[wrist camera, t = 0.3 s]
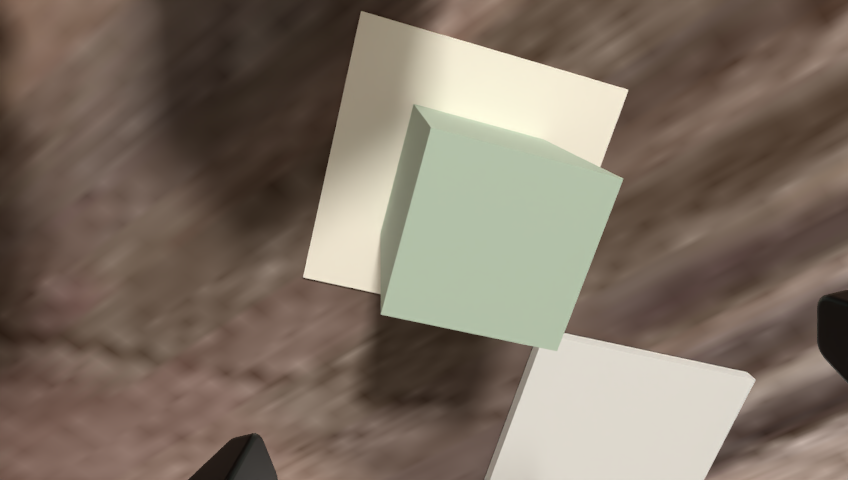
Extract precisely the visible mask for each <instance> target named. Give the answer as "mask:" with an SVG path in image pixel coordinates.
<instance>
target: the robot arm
mask: <svg viewBox="0 0 848 480" xmlns="http://www.w3.org/2000/svg"><path fill="white" fill-rule="evenodd" d="M817 343H818V347H819V350H820V352H821V354H822V355H823V357H824V358H825V359H826V360H827V362H828V363H829V364H830V365H831V366H832V367H833V368H834V369H835V370H836V371H837V372H838V373H839V375H840V376H841V377H842V378H843V379H844V380H845V381H846V382H847V383H848V290H844V291H840V292H836V293H832V294H828V295H824V296H823V297H821V298H820V300H819V302H818V306H817ZM188 480H278V479H277V474H276V471H275V469H274V466H273V464H272V461H271V459H270V456H269V454H268V451H267V449H266V446H265V444H264V442H263V439H262V438H261V437H260V435H258V434H256V433H252V434H248V435H244V436H240V437H236V438H233V439H231V440H230V441H229V442H228V443H226V444H225V445H224V446H223V447H222V448H221V449H220V450H219V451H218V452H217V453H216V454H215V455H214V456H213V457H212V458H211V459H210V460H208V461H207V462H206V463H205V464H204V465H203V466H202V467H201V468H200V469H199V470H198V471H197V472H196V473H195V474H194V475H193V476H192V477H190V478H189V479H188Z"/></svg>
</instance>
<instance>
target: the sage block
mask: <svg viewBox="0 0 848 480" xmlns="http://www.w3.org/2000/svg"><path fill="white" fill-rule="evenodd" d="M622 181H623V178H621V177H619V176H617V175H615V174H613V173H611V172H609V171H607V170H605V169H603V168H601V167H599V166H597V165H595V164H592V163H590V162H588V161H586V160H584V159H582V158H580V157H578V156H576V155H574V154H572V153H570V152H568V151H566V150H564V149H562V148H560V147H558V146H556V145H554V144H552V143H550V142H548V141H546V140H544V139H541V138H537V137H533V136H530V135H526V134H522V133H519V132H515V131H511V130H508V129H504V128H500V127H497V126H493V125H489V124H486V123H482V122H478V121H475V120H471V119H467V118H464V117H460V116H456V115H453V114H449V113H445V112H442V111H438V110H434V109H431V108H427V107H423V106H420V105H416V104H413V108H412V112H411V116H410V120H409V124H408V128H407V132H406V136H405V140H404V143H403V147H402V151H401V155H400V159H399V163H398V167H397V171H396V175H395V178H394V182H393V186H392V190H391V194H390V198H389V202H388V206H387V210H386V214H385V217H384V221H383V225H382V229H381V233H380V235H381V315H385V316H390V317H395V318H399V319H404V320H409V321H414V322H419V323H424V324H428V325H433V326H438V327H443V328H448V329H452V330H457V331H462V332H467V333H472V334H476V335H481V336H486V337H491V338H496V339H500V340H505V341H510V342H515V343H520V344H524V345H529V346H534V347H539V348H544V349H548V350H553V351H557V350H558V347H559V345H560V342H561V340H562V337H563V334H564V332H565V329H566V327H567V324H568V321H569V319H570V316H571V314H572V311H573V308H574V306H575V303H576V301H577V298H578V295H579V293H580V290H581V288H582V285H583V282H584V280H585V277H586V275H587V272H588V269H589V267H590V264H591V262H592V259H593V256H594V254H595V251H596V249H597V246H598V243H599V241H600V238H601V236H602V233H603V230H604V228H605V225H606V223H607V220H608V217H609V215H610V212H611V210H612V207H613V204H614V202H615V199H616V197H617V194H618V191H619V189H620V186H621V184H622Z"/></svg>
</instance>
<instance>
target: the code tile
mask: <svg viewBox="0 0 848 480" xmlns="http://www.w3.org/2000/svg"><path fill="white" fill-rule="evenodd" d="M627 93H628V90H627V89H624V88H621V87H617V86H614V85H610V84H607V83H604V82H600V81H597V80H594V79H590V78H587V77H583V76H580V75H577V74H573V73H570V72H566V71H563V70H560V69H556V68H553V67H550V66H546V65H543V64H539V63H536V62H533V61H529V60H526V59H522V58H519V57H516V56H512V55H509V54H505V53H502V52H499V51H495V50H492V49H489V48H485V47H482V46H478V45H475V44H472V43H468V42H465V41H461V40H458V39H455V38H451V37H448V36H445V35H441V34H438V33H434V32H431V31H428V30H424V29H421V28H417V27H414V26H411V25H407V24H404V23H400V22H397V21H394V20H390V19H387V18H384V17H380V16H377V15H373V14H370V13H367V12H363V11H361V14H360V18H359V23H358V27H357V32H356V37H355V41H354V46H353V50H352V55H351V59H350V64H349V69H348V73H347V78H346V82H345V87H344V92H343V96H342V101H341V105H340V110H339V115H338V119H337V124H336V128H335V133H334V138H333V142H332V147H331V151H330V156H329V161H328V165H327V170H326V174H325V179H324V184H323V188H322V193H321V197H320V202H319V207H318V211H317V216H316V220H315V225H314V230H313V234H312V239H311V243H310V248H309V253H308V257H307V262H306V266H305V271H304V276H303V278H308V279H312V280H317V281H322V282H326V283H331V284H336V285H340V286H345V287H350V288H354V289H359V290H364V291H368V292H373V293H378V294H381V235H380V233H381V229H382V225H383V221H384V217H385V214H386V210H387V206H388V202H389V198H390V194H391V190H392V186H393V182H394V178H395V175H396V171H397V167H398V163H399V159H400V155H401V151H402V147H403V143H404V140H405V136H406V132H407V128H408V124H409V120H410V116H411V112H412V108H413V104H416V105H420V106H423V107H427V108H431V109H434V110H438V111H442V112H445V113H449V114H453V115H456V116H460V117H464V118H467V119H471V120H475V121H478V122H482V123H486V124H489V125H493V126H497V127H500V128H504V129H508V130H511V131H515V132H519V133H522V134H526V135H530V136H533V137H537V138H541V139H544V140H546V141H548V142H550V143H552V144H554V145H556V146H558V147H560V148H562V149H564V150H566V151H568V152H570V153H572V154H574V155H576V156H578V157H580V158H582V159H584V160H586V161H588V162H590V163H592V164H595V165H597V166H599V167H600V166H601V163H602V160H603V158H604V155H605V152H606V150H607V147H608V144H609V141H610V139H611V136H612V133H613V131H614V128H615V125H616V123H617V120H618V117H619V114H620V112H621V109H622V106H623V104H624V101H625V98H626V95H627Z"/></svg>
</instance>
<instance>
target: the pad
mask: <svg viewBox="0 0 848 480" xmlns="http://www.w3.org/2000/svg"><path fill="white" fill-rule="evenodd" d="M755 380H756V379H754V378H753V377H752V376H751V375H750V374H749V373H747V372H744V371H739V370H735V369H730V368H725V367H721V366H716V365H711V364H707V363H702V362H697V361H693V360H688V359H683V358H679V357H674V356H669V355H665V354H660V353H655V352H651V351H646V350H641V349H637V348H632V347H627V346H623V345H618V344H613V343H609V342H604V341H599V340H595V339H590V338H585V337H581V336H576V335H571V334H567V333H564V334H563V337H562V340H561V342H560V345H559V347H558V350H557V351H553V350H548V349H544V348H539V347H534V346H533V348H532V351H531V354H530V357H529V359H528V362H527V365H526V367H525V370H524V373H523V376H522V378H521V381H520V384H519V386H518V389H517V392H516V394H515V397H514V400H513V403H512V405H511V408H510V411H509V413H508V416H507V419H506V422H505V424H504V427H503V430H502V432H501V435H500V438H499V441H498V443H497V446H496V449H495V451H494V454H493V457H492V460H491V462H490V465H489V468H488V470H487V473H486V476H485V478H484V480H704V479H705V477H706V475H707V473H708V471H709V469H710V467H711V465H712V463H713V461H714V459H715V457H716V455H717V454H718V452H719V450H720V448H721V446H722V444H723V442H724V440H725V438H726V436H727V434H728V432H729V430H730V428H731V426H732V425H733V423H734V421H735V419H736V417H737V415H738V413H739V411H740V409H741V407H742V405H743V403H744V401H745V399H746V397H747V396H748V394H749V392H750V390H751V388H752V386H753V384H754V382H755Z"/></svg>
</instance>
